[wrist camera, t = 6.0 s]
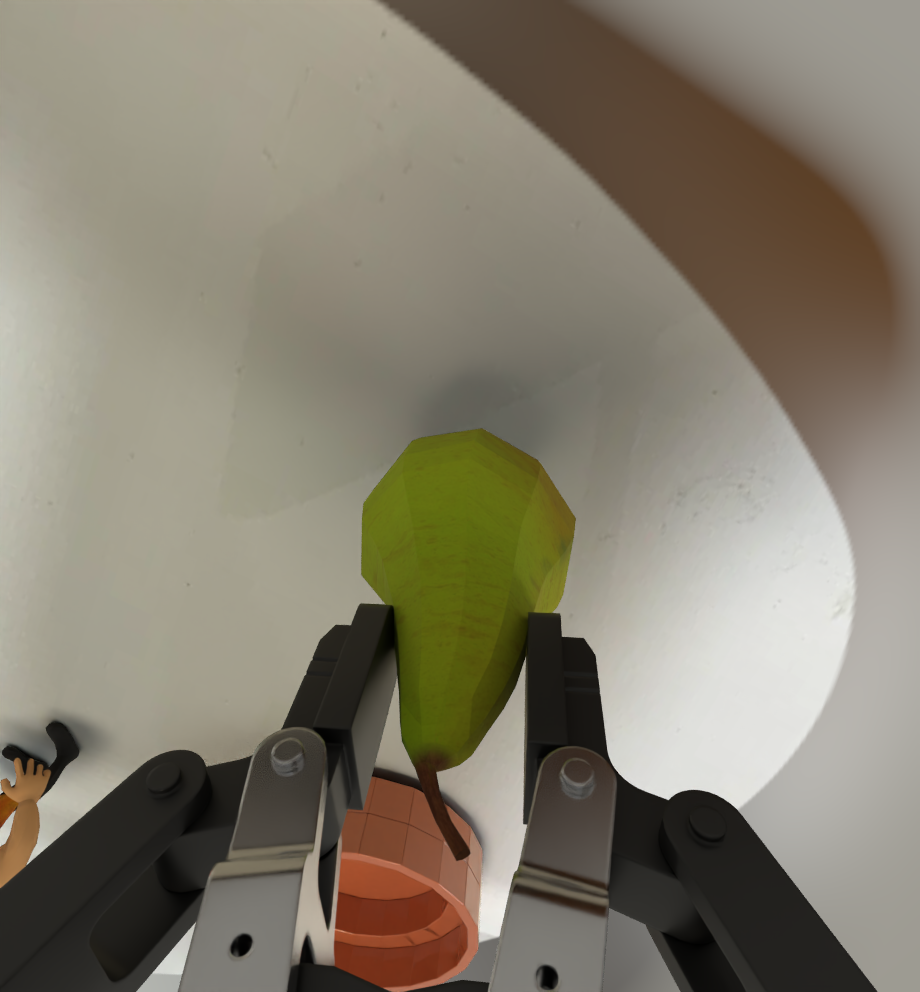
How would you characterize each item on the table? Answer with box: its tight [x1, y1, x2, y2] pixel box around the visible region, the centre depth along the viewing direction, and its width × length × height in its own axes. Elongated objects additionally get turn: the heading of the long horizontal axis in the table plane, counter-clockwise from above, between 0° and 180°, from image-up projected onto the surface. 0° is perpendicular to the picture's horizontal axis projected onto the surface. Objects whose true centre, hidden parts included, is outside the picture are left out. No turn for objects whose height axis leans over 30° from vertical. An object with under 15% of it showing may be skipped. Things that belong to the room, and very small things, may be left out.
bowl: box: [334, 777, 483, 992], centre depth 37 cm, size 14×14×5 cm
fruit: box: [361, 428, 576, 861], centre depth 15 cm, size 6×6×12 cm
